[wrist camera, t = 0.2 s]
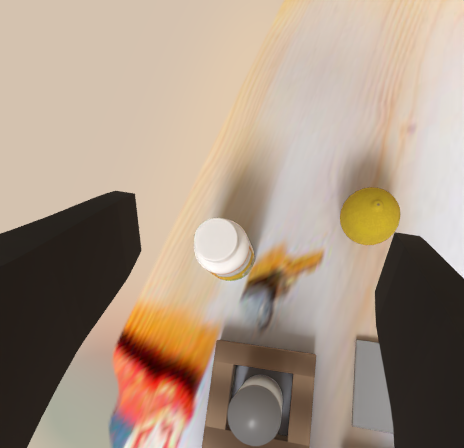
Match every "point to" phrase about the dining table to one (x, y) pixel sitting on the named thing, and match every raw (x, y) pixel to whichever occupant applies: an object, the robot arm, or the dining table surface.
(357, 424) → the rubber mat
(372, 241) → the lemon
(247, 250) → the supplement bottle
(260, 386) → the cylinder
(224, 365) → the walnut housing
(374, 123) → the dining table surface
